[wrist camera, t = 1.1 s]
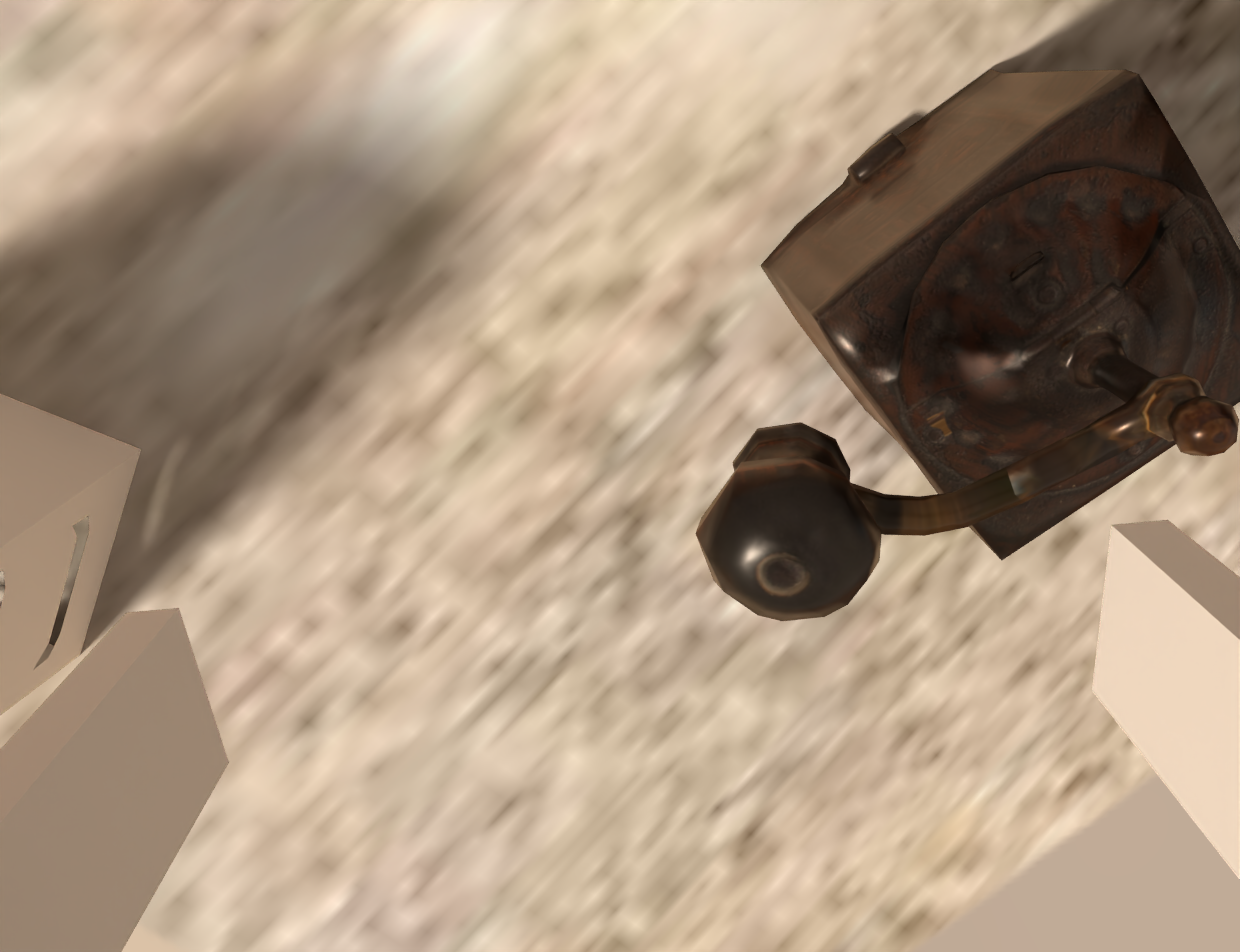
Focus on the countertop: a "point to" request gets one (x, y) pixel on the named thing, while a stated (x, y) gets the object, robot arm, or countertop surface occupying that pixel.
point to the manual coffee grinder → (991, 332)
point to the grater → (52, 536)
